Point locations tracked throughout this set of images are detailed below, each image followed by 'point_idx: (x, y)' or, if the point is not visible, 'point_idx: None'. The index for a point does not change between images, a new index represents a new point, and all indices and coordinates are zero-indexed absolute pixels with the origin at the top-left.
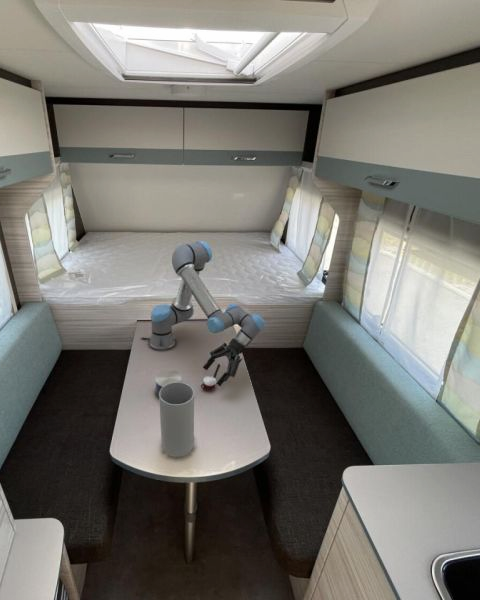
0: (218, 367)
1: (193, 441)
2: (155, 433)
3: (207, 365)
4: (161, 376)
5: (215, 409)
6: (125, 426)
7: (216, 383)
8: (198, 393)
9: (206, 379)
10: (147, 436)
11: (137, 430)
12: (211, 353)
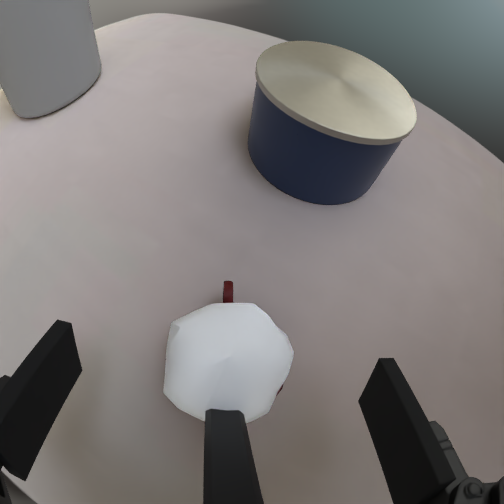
0: (214, 496)
1: (7, 98)
2: (135, 56)
3: (388, 410)
4: (366, 71)
5: (48, 273)
6: (217, 26)
7: (63, 322)
8: (218, 268)
9: (229, 321)
10: (144, 44)
11: (182, 35)
12: (500, 493)
